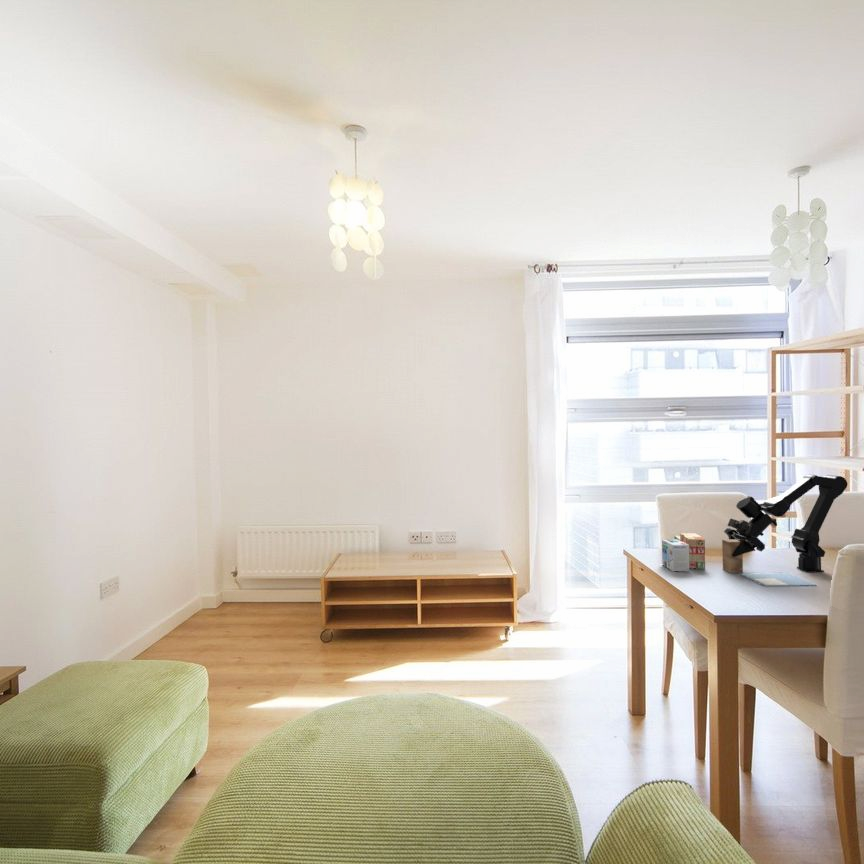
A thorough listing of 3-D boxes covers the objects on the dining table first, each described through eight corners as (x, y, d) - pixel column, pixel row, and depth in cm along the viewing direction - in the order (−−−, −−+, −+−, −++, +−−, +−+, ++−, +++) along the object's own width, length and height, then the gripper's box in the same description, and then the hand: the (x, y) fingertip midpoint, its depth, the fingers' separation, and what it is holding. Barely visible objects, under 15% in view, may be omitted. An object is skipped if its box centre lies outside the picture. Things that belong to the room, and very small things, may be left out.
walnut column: (735, 569, 202) (734, 539, 202) (742, 572, 197) (742, 542, 197) (722, 569, 202) (722, 539, 202) (729, 572, 197) (729, 542, 197)
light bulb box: (661, 565, 210) (661, 539, 210) (678, 565, 210) (677, 539, 210) (673, 572, 200) (672, 544, 200) (690, 572, 199) (689, 544, 199)
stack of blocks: (674, 556, 225) (674, 528, 225) (689, 556, 224) (689, 528, 224) (688, 569, 204) (688, 538, 204) (705, 569, 203) (705, 538, 203)
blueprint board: (787, 574, 194) (787, 572, 194) (816, 585, 179) (816, 584, 179) (740, 574, 194) (740, 573, 194) (764, 586, 179) (764, 584, 179)
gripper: (728, 508, 209) (701, 535, 209) (756, 515, 190) (726, 545, 190) (748, 527, 208) (721, 554, 209) (777, 536, 190) (748, 566, 190)
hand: (728, 554), depth 199 cm, fingers closed on walnut column, 5 cm apart
